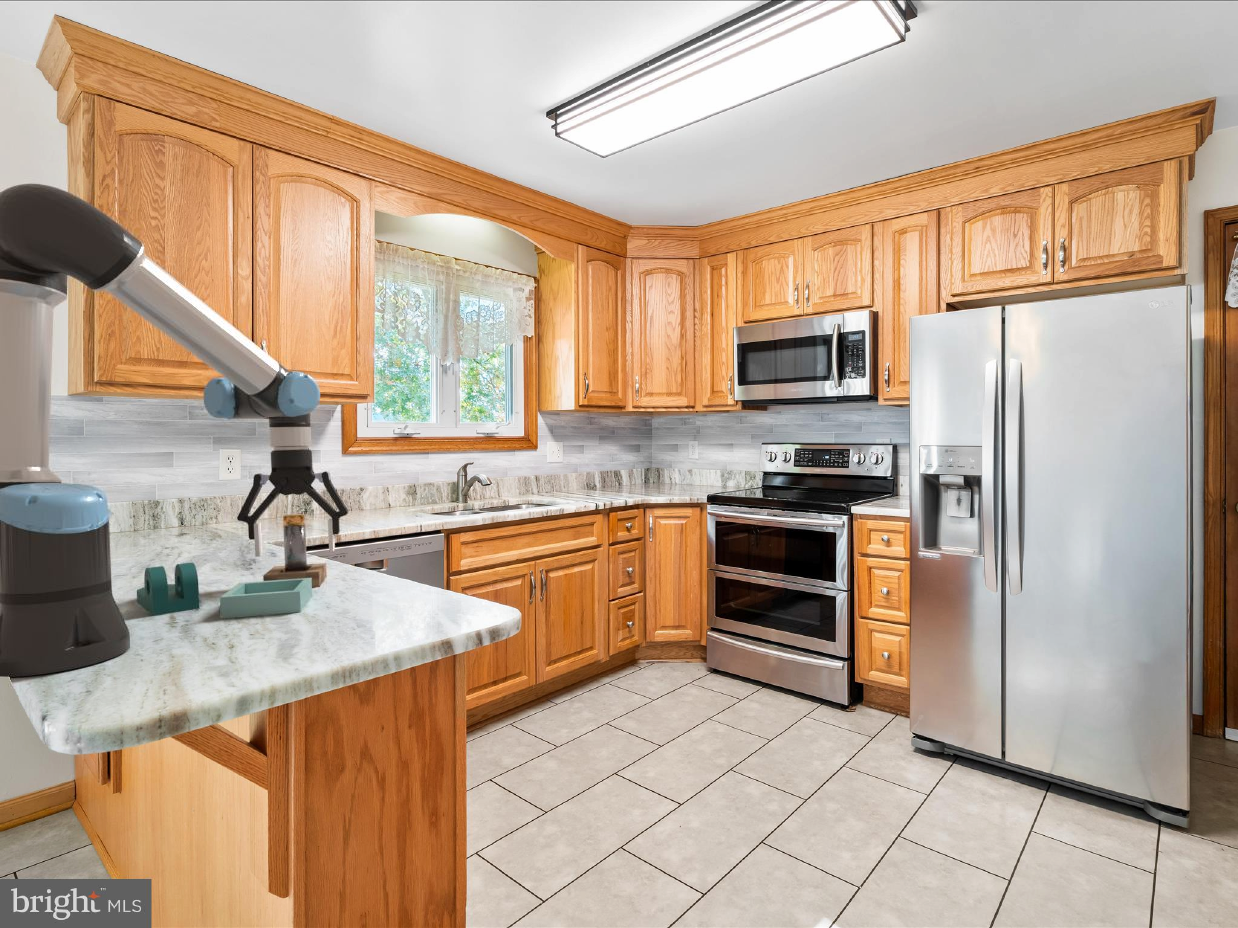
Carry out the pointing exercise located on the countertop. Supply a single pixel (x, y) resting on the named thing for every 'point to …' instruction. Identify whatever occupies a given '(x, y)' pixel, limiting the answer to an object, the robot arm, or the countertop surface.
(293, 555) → the hitch pin
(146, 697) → the countertop surface
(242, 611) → the tray
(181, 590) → the bracket
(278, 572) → the collar block
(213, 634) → the countertop surface
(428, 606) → the countertop surface
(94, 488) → the robot arm
